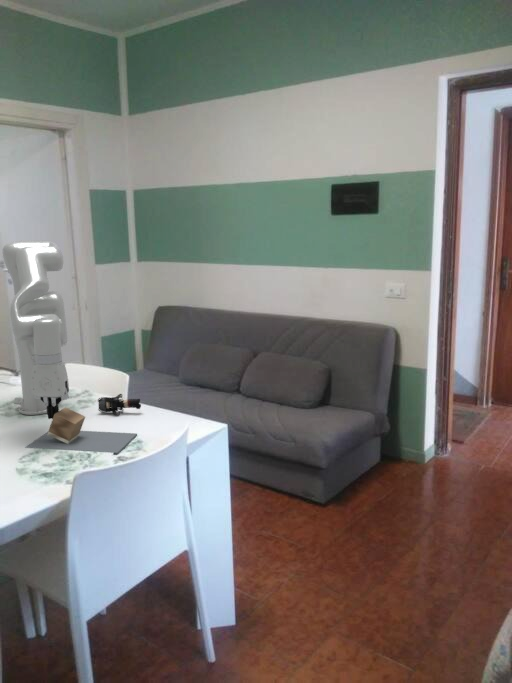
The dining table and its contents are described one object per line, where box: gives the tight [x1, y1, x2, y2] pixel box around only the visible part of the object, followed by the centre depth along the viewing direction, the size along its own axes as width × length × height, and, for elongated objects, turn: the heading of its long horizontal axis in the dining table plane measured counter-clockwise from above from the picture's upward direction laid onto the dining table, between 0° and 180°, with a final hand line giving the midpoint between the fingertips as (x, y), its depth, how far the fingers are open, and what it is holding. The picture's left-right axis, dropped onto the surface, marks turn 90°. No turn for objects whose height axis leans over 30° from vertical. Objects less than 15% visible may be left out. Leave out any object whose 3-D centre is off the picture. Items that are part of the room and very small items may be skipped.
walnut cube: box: [47, 406, 86, 444], centre depth 176 cm, size 7×7×7 cm
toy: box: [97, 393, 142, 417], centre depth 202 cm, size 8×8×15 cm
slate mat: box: [24, 430, 138, 456], centre depth 176 cm, size 29×16×1 cm, turn 81°
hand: (53, 417), depth 175 cm, fingers closed
